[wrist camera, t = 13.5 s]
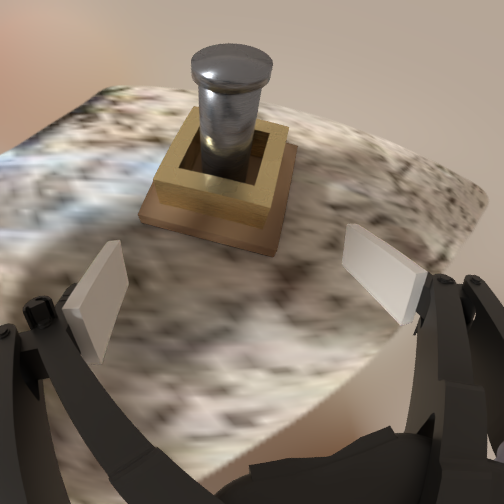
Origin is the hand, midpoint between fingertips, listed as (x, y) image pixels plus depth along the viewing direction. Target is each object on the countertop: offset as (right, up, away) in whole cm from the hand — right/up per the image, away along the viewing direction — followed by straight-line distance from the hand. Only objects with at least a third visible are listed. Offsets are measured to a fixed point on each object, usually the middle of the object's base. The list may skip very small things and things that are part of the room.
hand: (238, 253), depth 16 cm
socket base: (-2, +7, +11) cm, 13 cm away
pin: (-2, +7, +9) cm, 12 cm away
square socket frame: (-2, +7, +9) cm, 12 cm away
